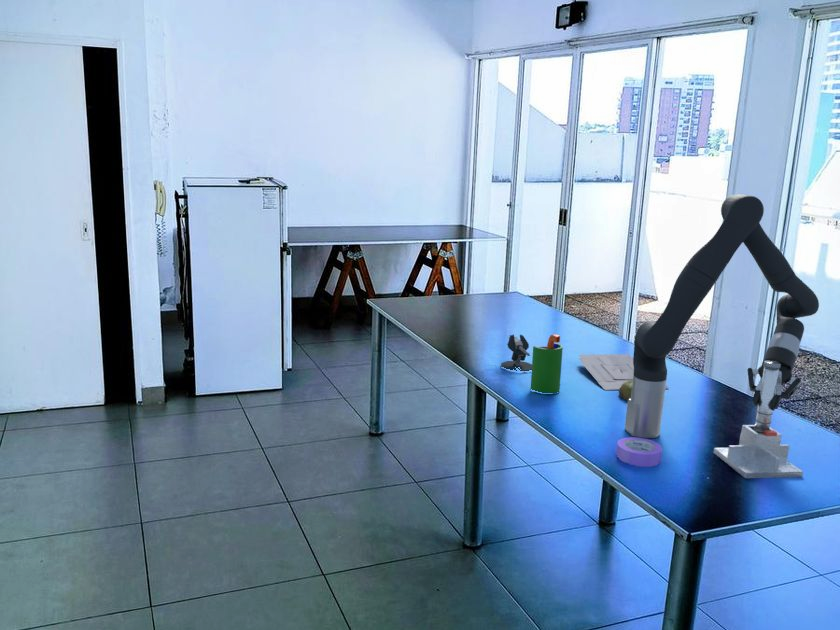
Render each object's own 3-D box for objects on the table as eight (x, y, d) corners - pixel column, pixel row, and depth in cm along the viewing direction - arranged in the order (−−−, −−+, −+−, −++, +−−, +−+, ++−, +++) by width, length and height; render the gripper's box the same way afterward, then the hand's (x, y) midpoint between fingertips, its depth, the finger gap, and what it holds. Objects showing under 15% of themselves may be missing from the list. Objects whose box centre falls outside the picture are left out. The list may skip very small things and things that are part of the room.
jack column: (756, 448, 200) (769, 365, 195) (748, 442, 204) (760, 360, 199) (770, 448, 201) (784, 365, 196) (762, 442, 205) (774, 360, 200)
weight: (652, 392, 260) (654, 378, 259) (666, 405, 247) (667, 391, 246) (613, 391, 260) (615, 377, 259) (625, 404, 247) (626, 390, 246)
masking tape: (607, 456, 205) (609, 443, 204) (630, 446, 213) (631, 433, 212) (646, 471, 197) (648, 457, 196) (668, 459, 205) (670, 446, 204)
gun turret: (512, 379, 267) (515, 344, 264) (495, 362, 286) (497, 329, 283) (546, 378, 270) (549, 343, 267) (526, 362, 288) (529, 329, 285)
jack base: (744, 479, 195) (750, 439, 192) (710, 452, 211) (716, 415, 208) (805, 477, 197) (811, 438, 194) (767, 450, 213) (773, 414, 211)
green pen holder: (542, 383, 263) (546, 328, 259) (564, 390, 258) (570, 333, 253) (526, 390, 256) (531, 333, 251) (549, 397, 250) (554, 338, 246)
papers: (632, 360, 292) (633, 352, 291) (668, 395, 264) (670, 386, 263) (572, 361, 288) (573, 352, 287) (602, 397, 260) (604, 387, 259)
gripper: (753, 340, 206) (734, 393, 200) (809, 351, 198) (792, 406, 192) (755, 355, 212) (737, 407, 205) (810, 366, 204) (793, 420, 197)
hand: (764, 406), depth 198 cm, fingers closed on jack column, 3 cm apart
